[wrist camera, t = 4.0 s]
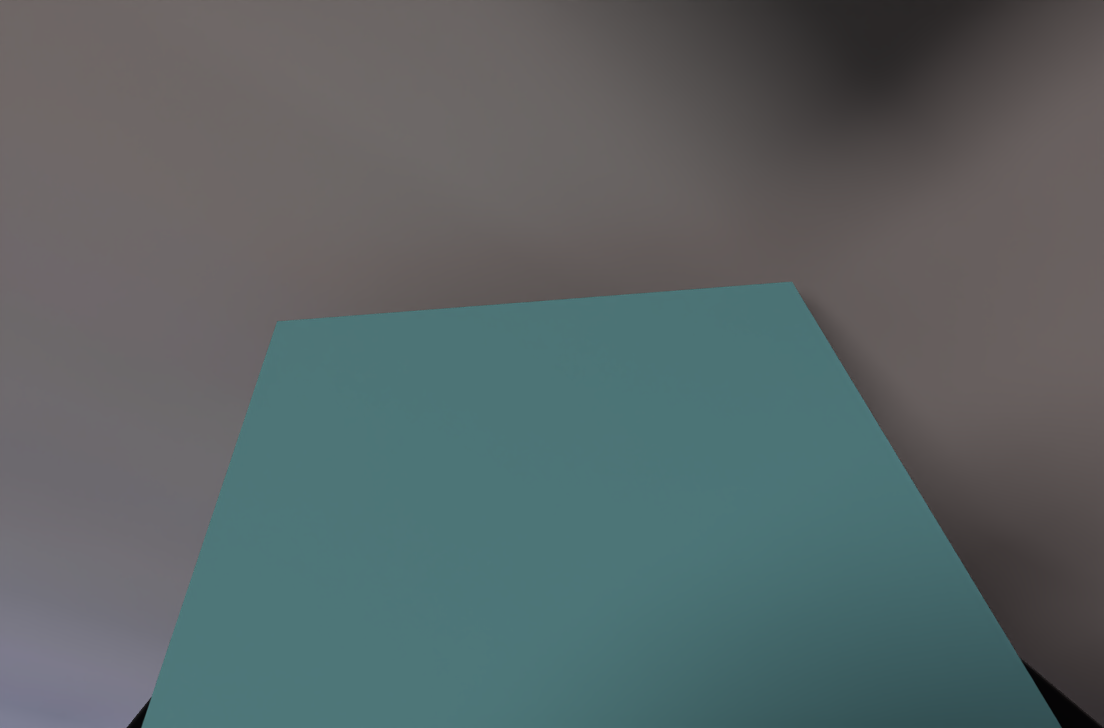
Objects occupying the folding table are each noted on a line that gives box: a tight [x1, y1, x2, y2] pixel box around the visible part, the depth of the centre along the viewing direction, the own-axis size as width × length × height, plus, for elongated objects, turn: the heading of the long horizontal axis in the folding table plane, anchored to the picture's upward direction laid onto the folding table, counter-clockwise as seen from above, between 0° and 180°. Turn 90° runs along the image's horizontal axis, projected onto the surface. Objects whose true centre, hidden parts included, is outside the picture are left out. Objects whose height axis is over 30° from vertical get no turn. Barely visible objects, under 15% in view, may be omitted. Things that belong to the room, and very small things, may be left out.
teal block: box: [141, 282, 1062, 728], centre depth 8 cm, size 5×5×5 cm
